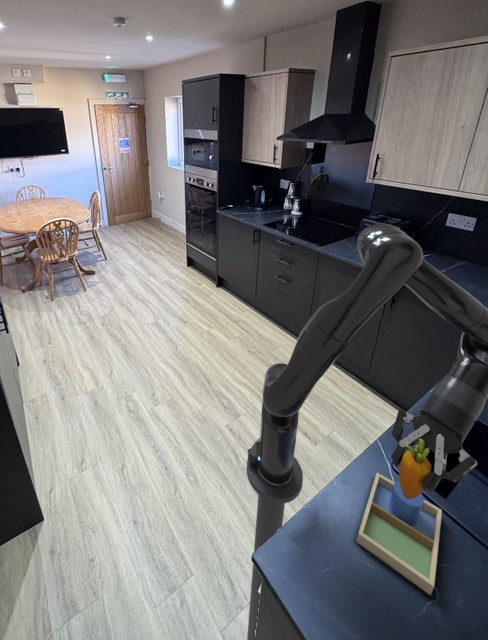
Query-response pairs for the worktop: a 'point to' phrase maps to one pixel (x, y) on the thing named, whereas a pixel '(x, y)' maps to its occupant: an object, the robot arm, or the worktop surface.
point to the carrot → (414, 470)
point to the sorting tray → (401, 536)
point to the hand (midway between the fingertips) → (409, 476)
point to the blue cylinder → (405, 505)
